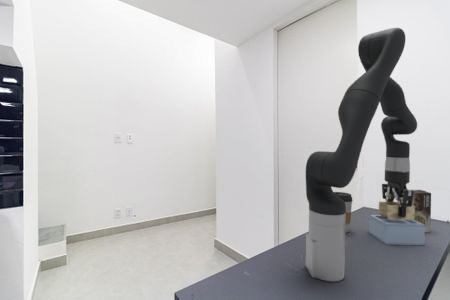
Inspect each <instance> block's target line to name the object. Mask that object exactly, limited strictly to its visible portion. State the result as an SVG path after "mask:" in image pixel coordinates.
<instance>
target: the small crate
mask: <svg viewBox="0 0 450 300" xmlns="http://www.w3.org/2000/svg"><path fill="white" fill-rule="evenodd" d="M401 203H402V202H401ZM398 207H399V205H398V201H393V202H386V201H378V215H381V216H383V217H385V218H387V219H393V220H414V215H415V206H413V205H412V206H411V207H407V208H406V217H399V216H398Z"/></svg>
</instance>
